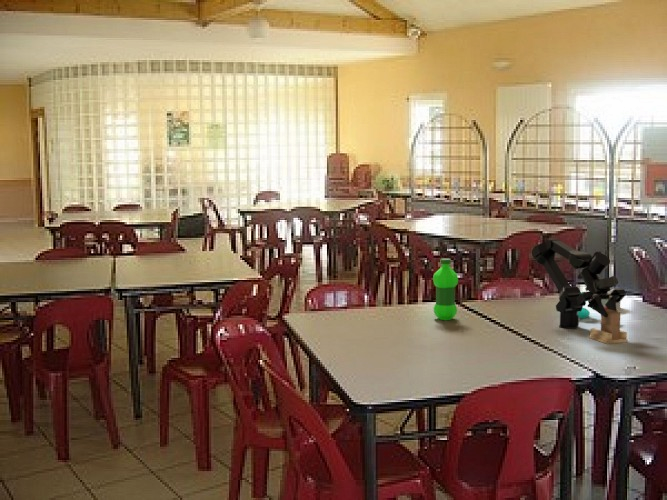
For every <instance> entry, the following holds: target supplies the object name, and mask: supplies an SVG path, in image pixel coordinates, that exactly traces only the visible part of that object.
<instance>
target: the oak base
mask: <svg viewBox="0 0 667 500" xmlns="http://www.w3.org/2000/svg"><path fill="white" fill-rule="evenodd" d="M589 334H590V335H589V336H588V338H589V339H591V340H595V341H597V342H601V343H603V344H607V345H610V344H618V343H620V344H621V343H627V342H629V341H628V339H627V335H628V334H627V332H626V331H624V330H621V329H620V337H619V340H612V334H611V333H608V332H605V331H601V329H597V328H596V327H591V328H590V333H589Z"/></svg>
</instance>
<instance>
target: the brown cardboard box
mask: <svg viewBox="0 0 667 500" xmlns="http://www.w3.org/2000/svg"><path fill="white" fill-rule="evenodd" d="M606 313H607V315H608V316H607V317H606V318H605V317H604V316H603V315H601V314H600V317H601V318H600V319H601V320H600V321H601V322H600V330H601V331H605V332H608V333H611V334H612V340H619V337H620V330H621V312H620V311H618V310H617V311H614V310H610V309H606Z"/></svg>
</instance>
